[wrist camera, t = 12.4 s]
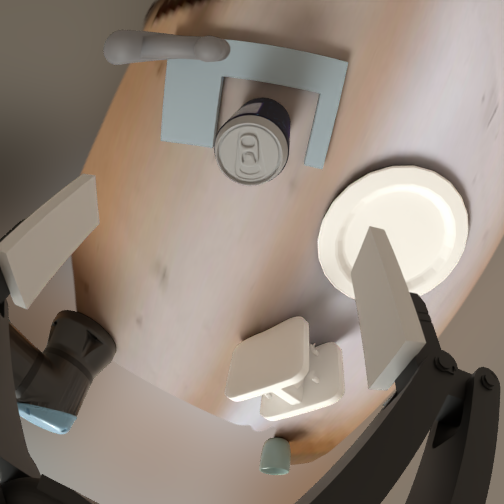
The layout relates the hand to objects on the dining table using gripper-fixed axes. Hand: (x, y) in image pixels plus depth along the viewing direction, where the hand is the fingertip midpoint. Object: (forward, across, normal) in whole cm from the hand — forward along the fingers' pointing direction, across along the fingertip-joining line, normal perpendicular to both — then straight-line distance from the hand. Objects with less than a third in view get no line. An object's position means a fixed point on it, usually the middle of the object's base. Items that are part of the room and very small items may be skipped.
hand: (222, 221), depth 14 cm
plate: (+22, +19, -10) cm, 31 cm away
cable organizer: (+22, +10, -33) cm, 41 cm away
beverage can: (+22, 0, 0) cm, 22 cm away
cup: (+22, +18, -77) cm, 82 cm away
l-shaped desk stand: (+22, -2, +3) cm, 22 cm away
